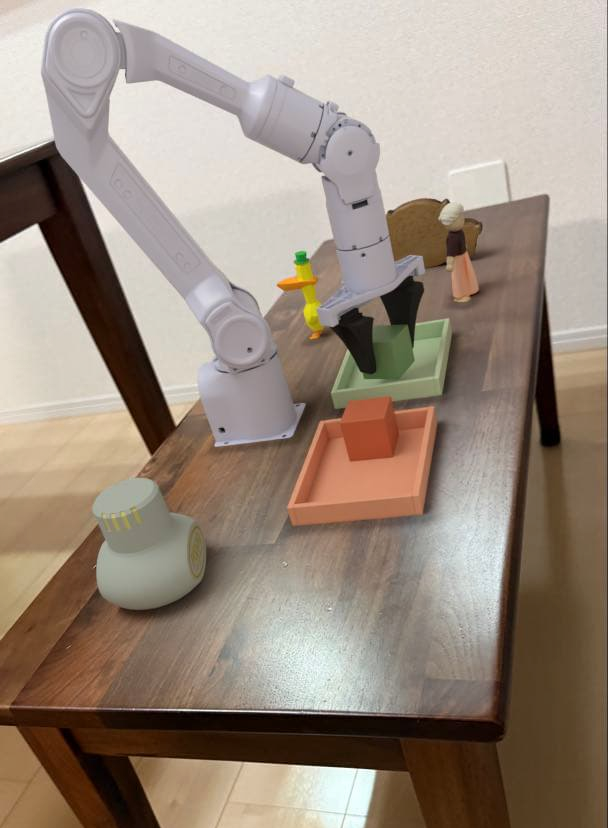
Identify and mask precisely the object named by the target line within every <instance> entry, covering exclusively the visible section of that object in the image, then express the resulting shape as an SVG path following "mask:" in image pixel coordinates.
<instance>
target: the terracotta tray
mask: <svg viewBox="0 0 608 828" xmlns="http://www.w3.org/2000/svg"><path fill="white" fill-rule="evenodd" d="M394 413H395V417H396V422H397V427H398V431H399V436H398V440H397V444H396V447H395V451H394V455H393V457H389V458H379V459H369V460H359V461H350V460H349V457H348V453H347V449H346V445H345V441H344V437H343V433H342V429H341V426H340V421H341V419H342V417H340V418H332V419H326V420H325V419H324V420H320V421H319V423H318V425H317V428H316V431H315V433H314V436H313V439H312V440H311V441H312V442H311V444H310V447H309V449H308V452H307V455H306V457H305V459H304V462H303V465H302V467H301V469H300V473H299V476H298V478H297V480H296V483H295V485H294V488H293V490H292V494H291V496H290V499H289V502H288V504H287V507H286V510H287V513H288V517H289V520H290V522H291V526H292V527H297V526H309V525H318V524H319V525H321V524H331V523H332V524H333V523H343V522H353V521H365V520H377V519H387V518H397V517H410V516H421V515H423V514H424V509H425V503H426V496H427V491H428V485H429V477H430V471H431V467H432V466H431V465H432V459H433V453H434V447H435V440H436V434H437V428H438V420H437V414H436V409H435V406H434V405H433V406H432V405H431V406H427V407H425V406H424V407H417V408H410V409H402V410H394Z"/></svg>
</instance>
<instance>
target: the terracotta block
mask: <svg viewBox="0 0 608 828" xmlns="http://www.w3.org/2000/svg"><path fill="white" fill-rule="evenodd" d="M394 411H395V408H394V403H393V401H392V399H391V396H387V397H379V398H371V399H363V400H355V401H348V403H347V406H346V408H344V411H343V413H342V417H341V418H342V419H341V421H340V426H341V429H342V433H343V437H344V441H345V445H346V449H347V453H348V457H349V460H350V461H359V460H369V459H379V458H389V457H393V455H394V451H395V447H396V444H397V440H398V436H399V431H398V427H397V422H396V417H395V413H394Z"/></svg>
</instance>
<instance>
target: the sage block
mask: <svg viewBox="0 0 608 828" xmlns="http://www.w3.org/2000/svg"><path fill="white" fill-rule="evenodd" d="M372 339H373V349H374V354H375V359H376V372H375V373H374V374H367V373H363V377H364V379H400V378H401V377H402V375H403V374H404V373H405V372H406V371H407V369H408V368H409V367H410V366H411V365H412V364H413V362H414V361H415V359H414V354H413V349H412V343H411V338H410V333H409V328H408V325H407V324H406V325H391V324H382V325H381V324H380V325H379V324H378V325H377V324H376V325H373V331H372Z"/></svg>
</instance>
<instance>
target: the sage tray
mask: <svg viewBox="0 0 608 828" xmlns="http://www.w3.org/2000/svg"><path fill="white" fill-rule="evenodd" d="M451 325H452V324H451V319H450V318H449V317H448V318H441V319H435V320H428V321H422V322H416V324H415V335H414V348H413V354H414V359H415V361H414V362H413V364H412V365H411V366H410V367H409V368H408V369H407V371H406V372H405V373H404V374H403V375H402V377H401V378H400V379H364V377H363V373H362V372H360V370H359V368H358V366H357V364H356V362H355V360H354V359H353V357H352V355H351V353H350V352H349V350H348V348H346V349H347V350H346V352H345V355H344V357H343V359H342V362H341V365H340V368H339V370H338V373H337V376H336V378H335V381H334V384H333V386H332V389H331V392H330V396H331V400H332V404H333V407H334V410H339V409H345V408H346V406H347V403H348V401H355V400H363V399H371V398H379V397H387V396H391V399H392V402H397V401H398V402H399V401H405V400H414V399H421V398H429V397H437V396H442V395H443V392H444V386H445V378H446V372H447V366H448V360H449V354H450V348H451V342H452V335H453V331H452V326H451Z"/></svg>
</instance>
